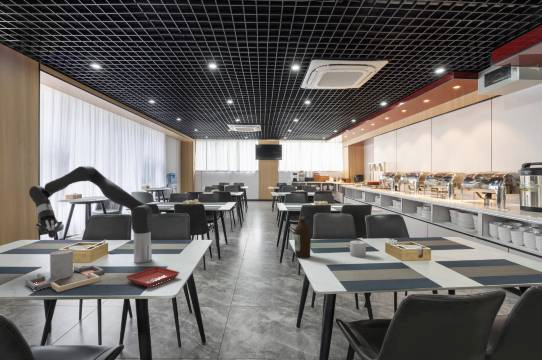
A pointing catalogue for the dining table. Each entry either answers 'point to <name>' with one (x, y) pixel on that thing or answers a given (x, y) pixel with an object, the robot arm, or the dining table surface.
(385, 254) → the dining table surface
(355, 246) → the toilet tissue
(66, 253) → the grey concrete cylinder
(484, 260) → the dining table surface
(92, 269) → the two-trap box
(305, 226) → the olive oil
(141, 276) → the plant saucer
